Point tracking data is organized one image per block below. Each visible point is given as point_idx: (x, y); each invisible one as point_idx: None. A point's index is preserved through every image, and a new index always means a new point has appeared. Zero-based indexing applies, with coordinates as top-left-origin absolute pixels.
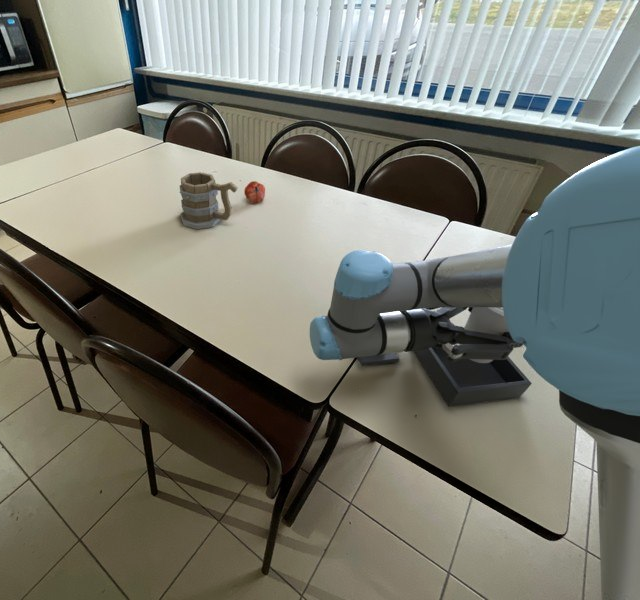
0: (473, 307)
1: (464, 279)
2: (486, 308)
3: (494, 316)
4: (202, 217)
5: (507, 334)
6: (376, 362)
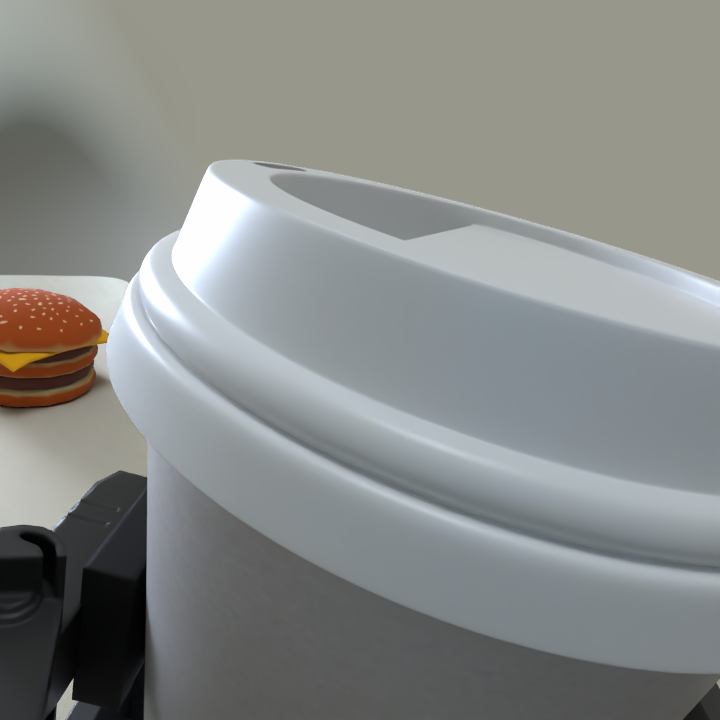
0: (196, 702)
1: None
2: (585, 675)
3: (697, 691)
4: None
5: (697, 715)
6: None
